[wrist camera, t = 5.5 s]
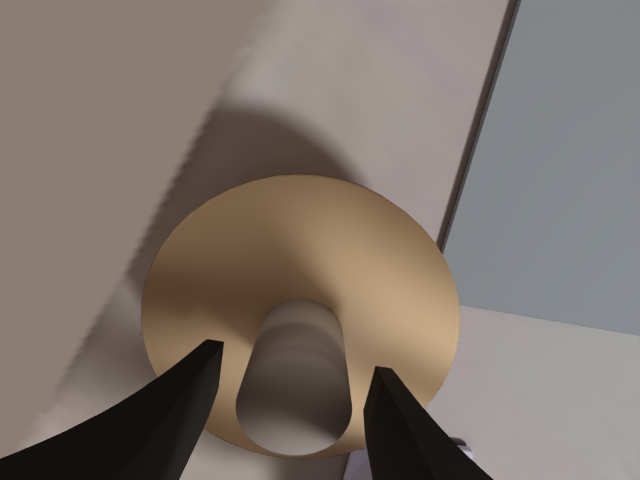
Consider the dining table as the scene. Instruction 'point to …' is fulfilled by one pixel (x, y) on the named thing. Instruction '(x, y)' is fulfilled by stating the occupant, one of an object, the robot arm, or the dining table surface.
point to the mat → (556, 171)
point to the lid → (302, 309)
